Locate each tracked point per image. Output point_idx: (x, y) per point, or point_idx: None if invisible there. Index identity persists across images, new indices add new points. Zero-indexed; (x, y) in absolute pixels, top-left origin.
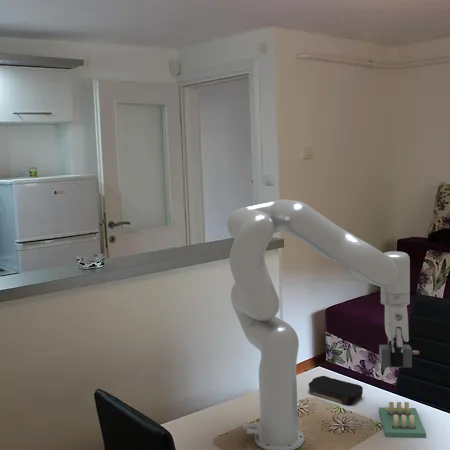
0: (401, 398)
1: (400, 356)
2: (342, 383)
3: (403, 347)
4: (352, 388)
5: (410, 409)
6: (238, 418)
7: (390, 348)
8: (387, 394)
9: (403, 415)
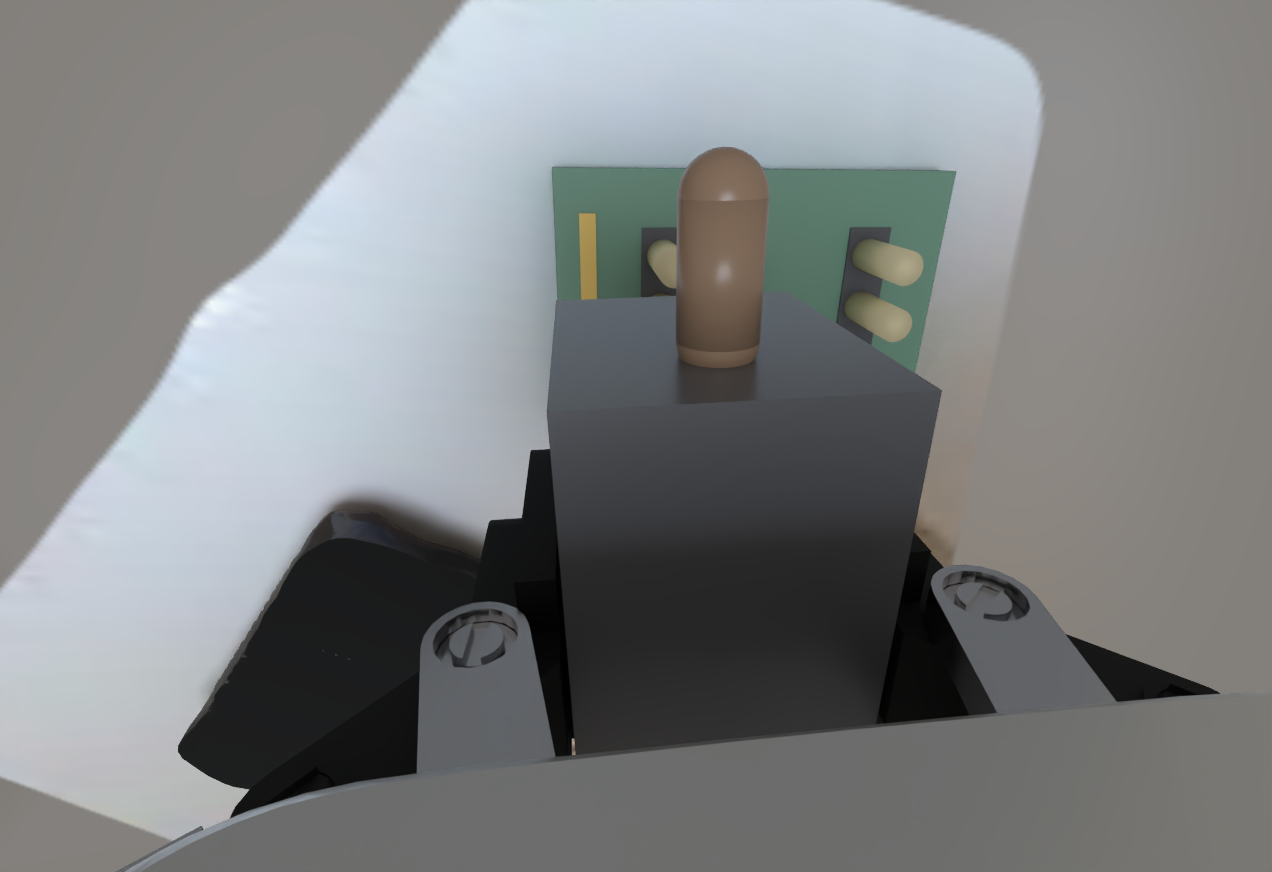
0: (303, 234)
1: (933, 558)
2: (287, 650)
3: (774, 558)
4: (363, 594)
5: (588, 215)
6: None
7: None
8: (248, 332)
9: (893, 328)
